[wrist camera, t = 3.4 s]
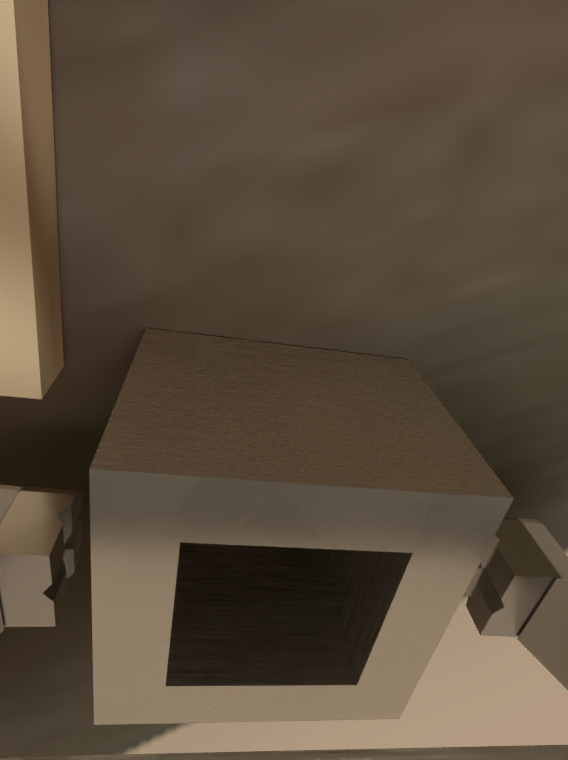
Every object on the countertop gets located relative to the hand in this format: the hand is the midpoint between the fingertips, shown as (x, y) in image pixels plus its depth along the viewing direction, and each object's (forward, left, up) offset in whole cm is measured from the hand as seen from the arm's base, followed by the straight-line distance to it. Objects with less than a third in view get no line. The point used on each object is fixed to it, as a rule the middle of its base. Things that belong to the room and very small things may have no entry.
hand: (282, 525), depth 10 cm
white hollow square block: (0, 0, -3) cm, 3 cm away
